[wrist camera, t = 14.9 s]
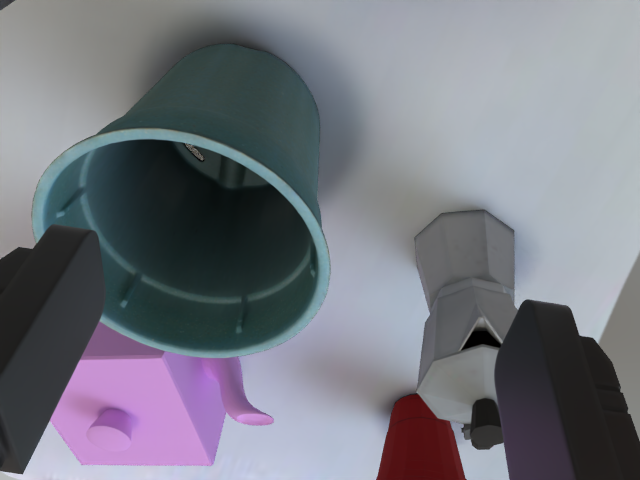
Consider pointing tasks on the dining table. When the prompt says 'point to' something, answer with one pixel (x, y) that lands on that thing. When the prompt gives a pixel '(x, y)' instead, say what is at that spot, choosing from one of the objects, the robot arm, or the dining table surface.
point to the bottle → (5, 3)
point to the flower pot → (203, 207)
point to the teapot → (149, 404)
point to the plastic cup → (419, 445)
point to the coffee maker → (465, 318)
